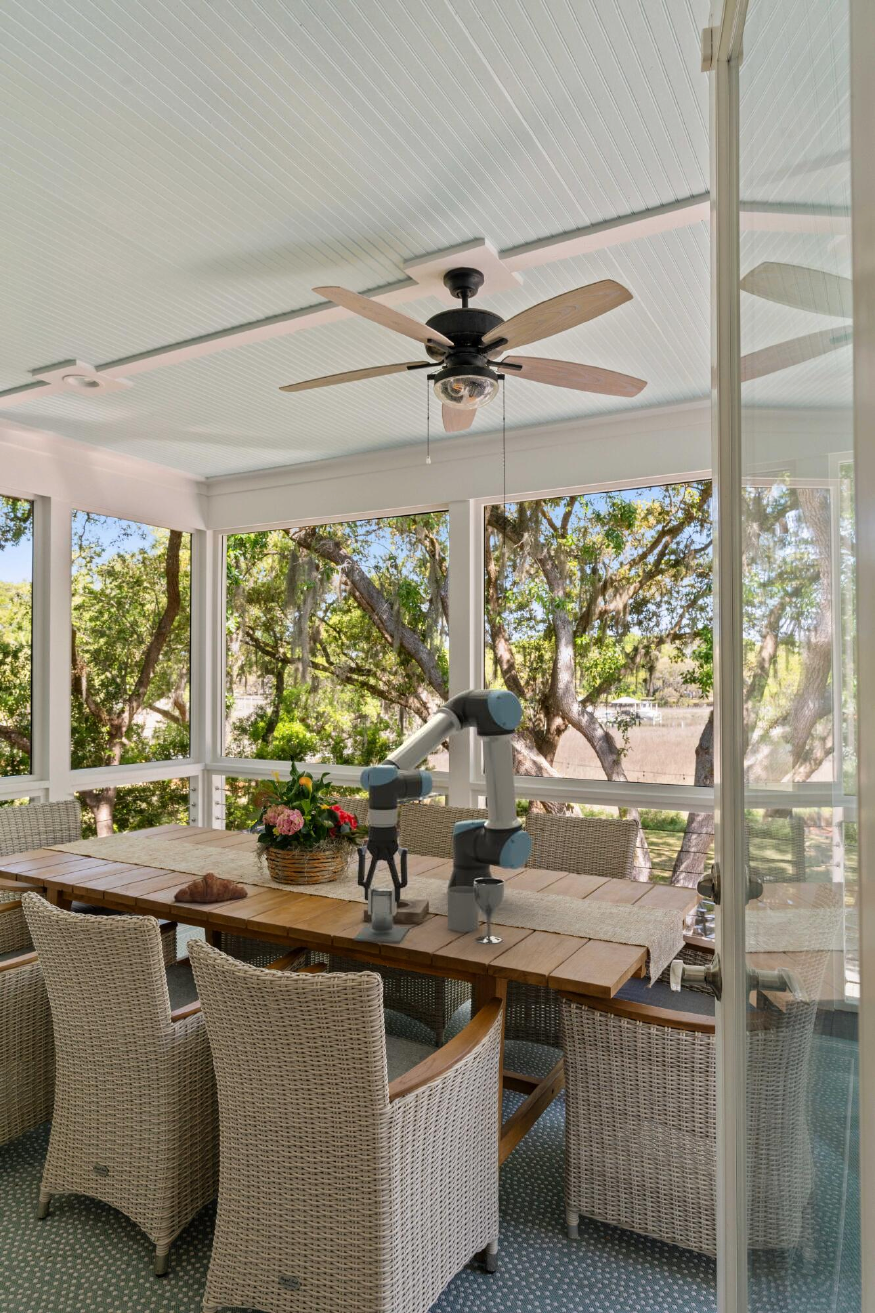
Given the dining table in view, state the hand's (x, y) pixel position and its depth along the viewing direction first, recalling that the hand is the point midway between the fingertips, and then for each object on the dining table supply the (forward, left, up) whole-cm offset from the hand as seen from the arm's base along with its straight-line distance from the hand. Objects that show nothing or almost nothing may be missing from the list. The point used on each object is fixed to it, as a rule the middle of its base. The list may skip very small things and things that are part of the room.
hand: (382, 913), depth 217 cm
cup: (-20, -11, -6) cm, 24 cm away
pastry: (+60, -27, -6) cm, 66 cm away
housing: (0, -19, -6) cm, 20 cm away
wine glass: (-28, -1, -6) cm, 29 cm away
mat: (0, 0, -6) cm, 6 cm away
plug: (0, 0, -4) cm, 4 cm away
